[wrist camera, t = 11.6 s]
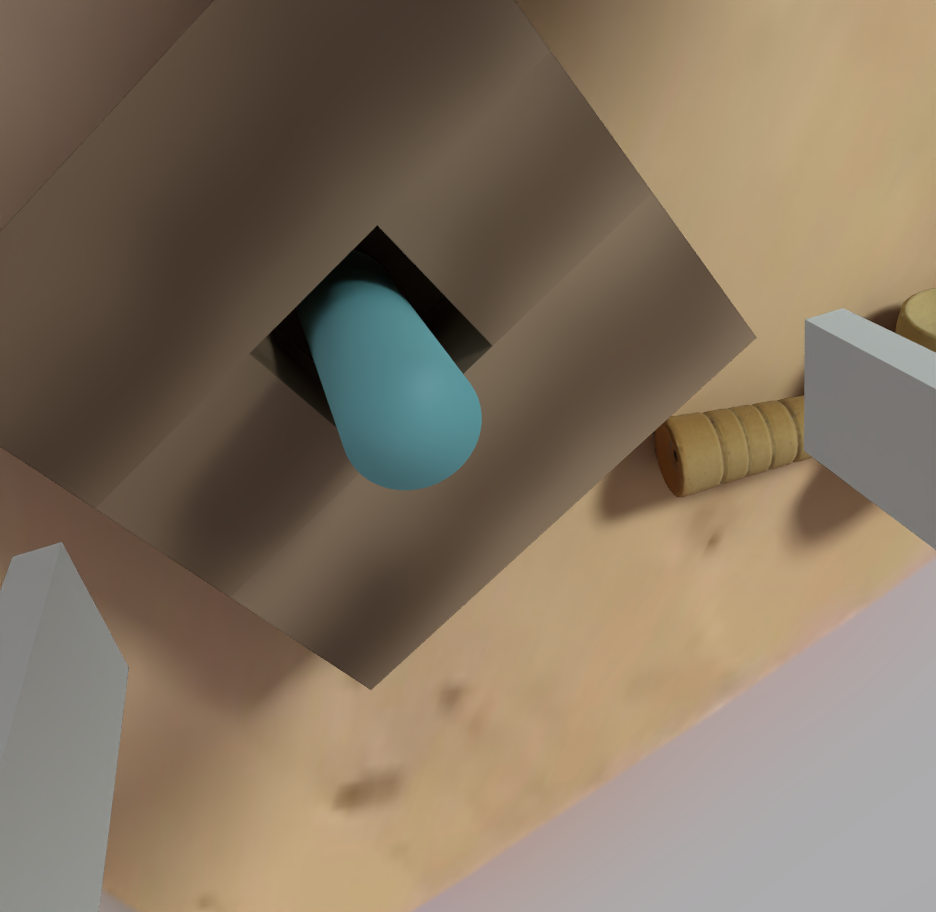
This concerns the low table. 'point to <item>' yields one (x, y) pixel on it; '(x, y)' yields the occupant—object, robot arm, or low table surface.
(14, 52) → the low table surface
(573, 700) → the low table surface
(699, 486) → the kendama
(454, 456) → the peg
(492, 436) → the hole block
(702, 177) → the low table surface
